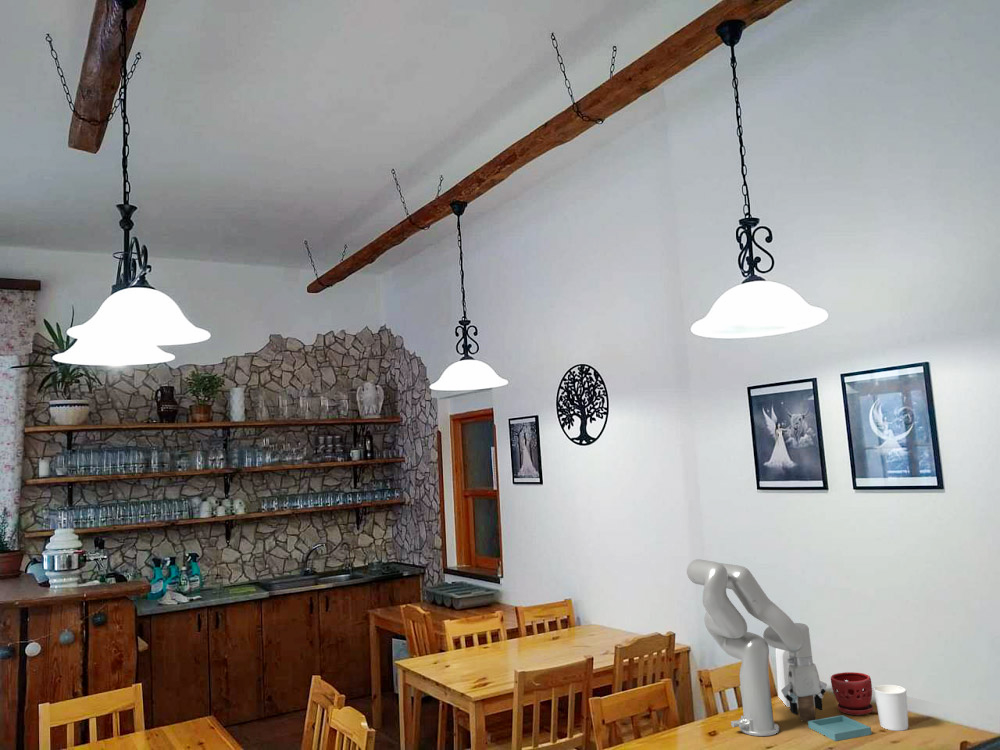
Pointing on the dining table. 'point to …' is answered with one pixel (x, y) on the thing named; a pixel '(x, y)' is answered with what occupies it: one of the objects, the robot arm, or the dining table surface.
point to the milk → (783, 674)
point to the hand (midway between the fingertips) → (806, 711)
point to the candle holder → (892, 707)
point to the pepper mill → (806, 708)
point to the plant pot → (853, 692)
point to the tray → (839, 727)
